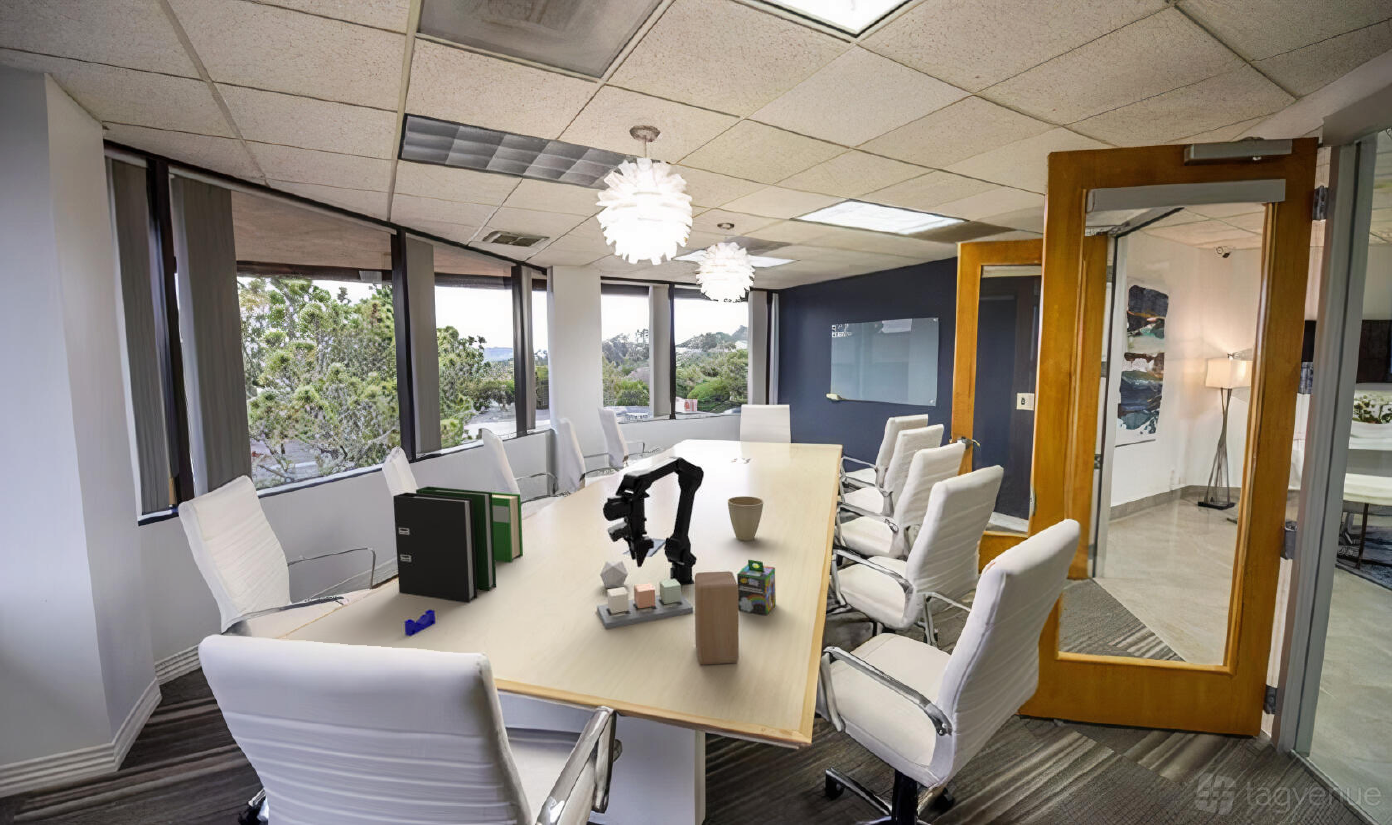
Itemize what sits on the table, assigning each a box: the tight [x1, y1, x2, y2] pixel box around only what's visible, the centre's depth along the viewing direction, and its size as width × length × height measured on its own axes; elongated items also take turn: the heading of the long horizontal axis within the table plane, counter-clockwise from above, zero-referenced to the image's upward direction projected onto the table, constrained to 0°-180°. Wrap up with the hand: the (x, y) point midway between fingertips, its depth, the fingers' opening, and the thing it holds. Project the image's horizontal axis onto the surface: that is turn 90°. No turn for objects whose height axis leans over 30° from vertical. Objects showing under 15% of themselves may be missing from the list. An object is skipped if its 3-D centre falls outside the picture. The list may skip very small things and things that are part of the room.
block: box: [694, 570, 740, 665], centre depth 138 cm, size 10×10×20 cm
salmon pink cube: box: [633, 582, 656, 609], centre depth 163 cm, size 5×5×5 cm
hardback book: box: [483, 490, 524, 563], centre depth 210 cm, size 18×7×24 cm, turn 72°
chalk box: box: [736, 559, 777, 617], centre depth 165 cm, size 9×9×15 cm
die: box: [599, 560, 629, 589], centre depth 182 cm, size 8×9×10 cm
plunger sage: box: [659, 579, 682, 605], centre depth 166 cm, size 5×5×5 cm
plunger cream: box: [606, 586, 630, 614], centre depth 160 cm, size 5×5×5 cm
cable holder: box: [404, 608, 436, 637], centre depth 154 cm, size 8×4×4 cm, turn 155°
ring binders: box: [392, 485, 497, 604], centre depth 179 cm, size 27×15×32 cm, turn 71°
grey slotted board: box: [596, 593, 694, 630], centre depth 163 cm, size 26×12×2 cm, turn 112°
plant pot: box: [727, 495, 764, 542], centre depth 229 cm, size 15×15×16 cm
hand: (636, 563), depth 170 cm, fingers open, 6 cm apart
